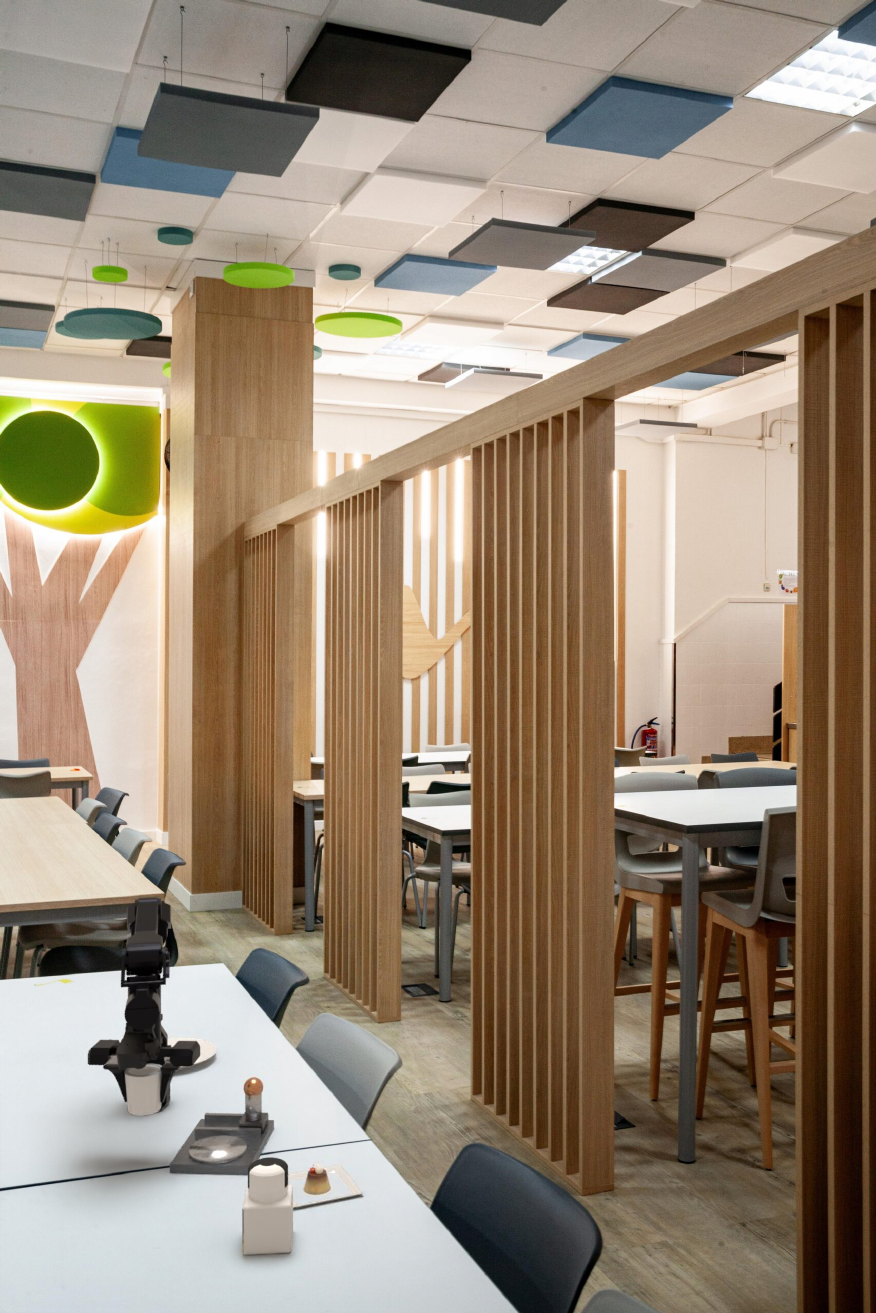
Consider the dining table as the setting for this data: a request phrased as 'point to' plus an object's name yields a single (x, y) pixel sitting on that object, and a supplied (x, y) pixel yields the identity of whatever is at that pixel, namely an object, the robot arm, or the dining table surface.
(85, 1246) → the dining table surface
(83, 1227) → the dining table surface
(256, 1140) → the base
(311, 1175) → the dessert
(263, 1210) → the medicine bottle
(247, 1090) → the press lever
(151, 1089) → the white cup
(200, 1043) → the plate
